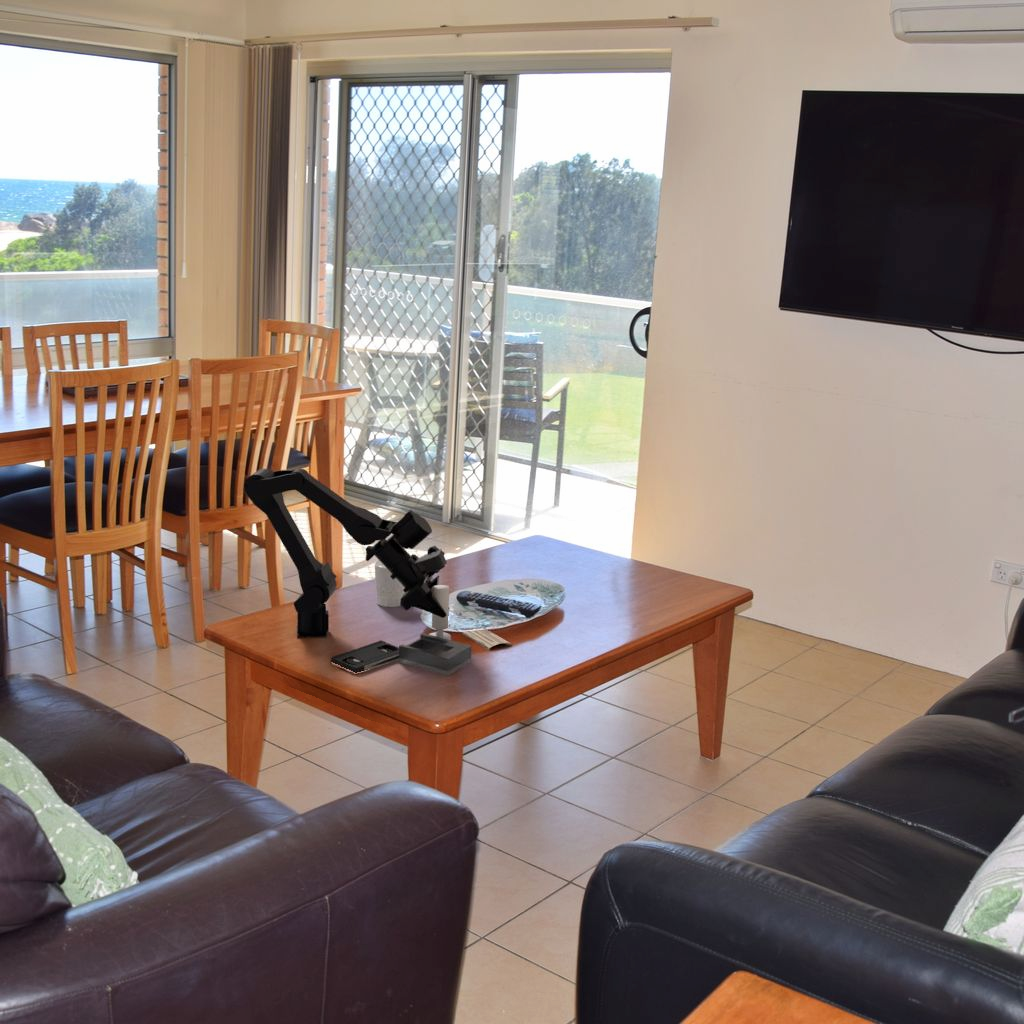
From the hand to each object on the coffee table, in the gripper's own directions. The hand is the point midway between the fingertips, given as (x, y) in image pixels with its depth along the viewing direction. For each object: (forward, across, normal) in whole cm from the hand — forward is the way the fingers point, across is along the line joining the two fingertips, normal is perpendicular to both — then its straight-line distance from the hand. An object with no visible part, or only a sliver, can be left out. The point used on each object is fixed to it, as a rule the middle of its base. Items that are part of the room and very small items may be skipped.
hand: (446, 613), depth 261 cm
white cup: (-7, +24, +18) cm, 30 cm away
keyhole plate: (+5, -11, +5) cm, 13 cm away
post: (+4, 0, +6) cm, 7 cm away
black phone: (-5, -13, +16) cm, 21 cm away
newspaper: (+9, +9, +2) cm, 13 cm away
